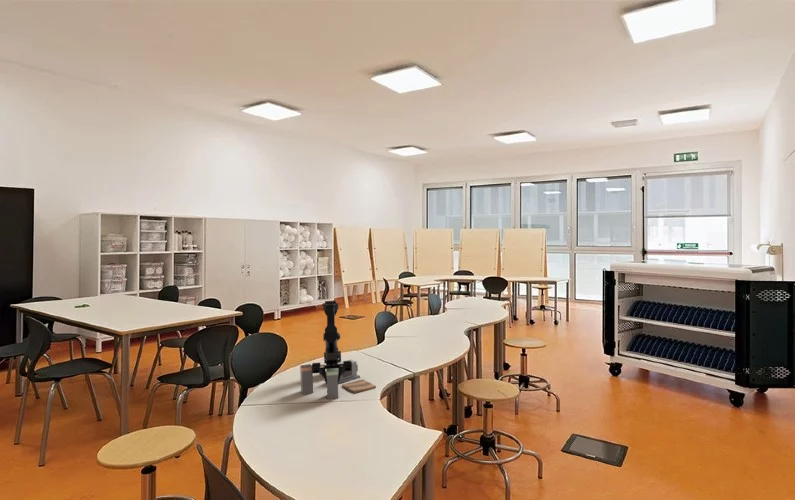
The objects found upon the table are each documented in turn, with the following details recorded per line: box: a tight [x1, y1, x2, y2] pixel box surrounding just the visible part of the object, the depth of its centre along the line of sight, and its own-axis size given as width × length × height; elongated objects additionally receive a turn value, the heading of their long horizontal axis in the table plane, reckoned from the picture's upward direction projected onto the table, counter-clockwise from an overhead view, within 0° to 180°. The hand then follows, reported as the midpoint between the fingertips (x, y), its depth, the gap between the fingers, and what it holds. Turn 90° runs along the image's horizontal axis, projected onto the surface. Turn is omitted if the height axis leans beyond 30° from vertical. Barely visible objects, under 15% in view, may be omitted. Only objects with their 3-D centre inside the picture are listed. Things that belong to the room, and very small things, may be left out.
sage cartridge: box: [325, 368, 339, 400], centre depth 205 cm, size 5×5×12 cm
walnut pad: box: [341, 379, 377, 394], centre depth 217 cm, size 12×12×1 cm
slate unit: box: [338, 359, 361, 385], centre depth 229 cm, size 8×14×8 cm, turn 132°
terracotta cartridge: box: [299, 363, 314, 395], centre depth 212 cm, size 5×5×12 cm
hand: (332, 383), depth 204 cm, fingers closed on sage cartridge, 5 cm apart
